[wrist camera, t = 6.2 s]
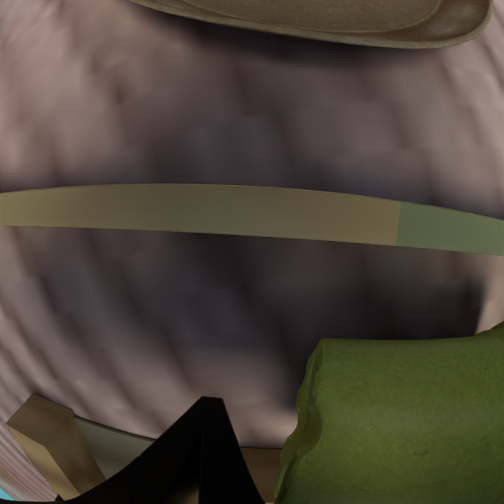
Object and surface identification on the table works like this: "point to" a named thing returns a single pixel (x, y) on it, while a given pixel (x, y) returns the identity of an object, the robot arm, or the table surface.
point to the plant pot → (398, 423)
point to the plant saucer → (345, 19)
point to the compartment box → (218, 222)
